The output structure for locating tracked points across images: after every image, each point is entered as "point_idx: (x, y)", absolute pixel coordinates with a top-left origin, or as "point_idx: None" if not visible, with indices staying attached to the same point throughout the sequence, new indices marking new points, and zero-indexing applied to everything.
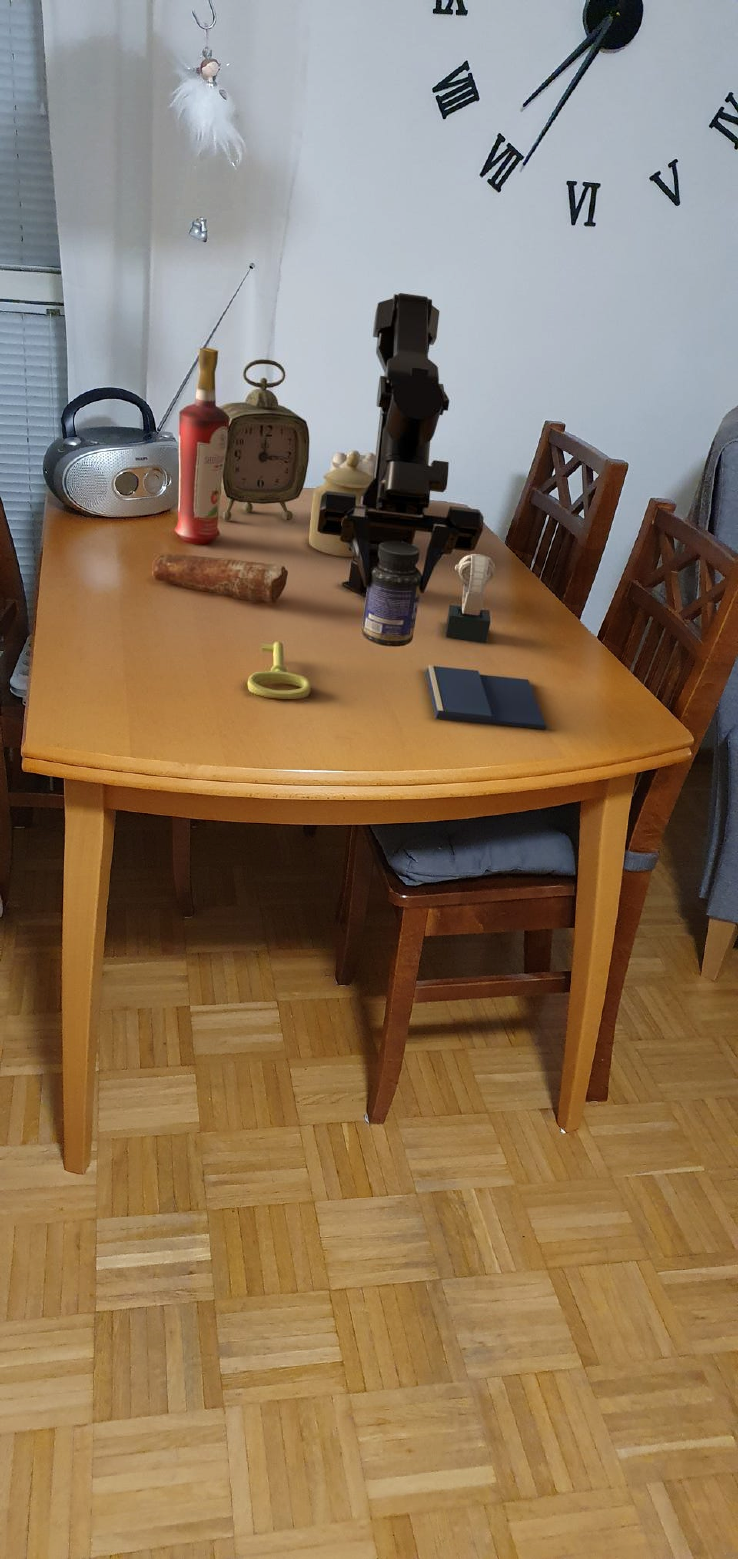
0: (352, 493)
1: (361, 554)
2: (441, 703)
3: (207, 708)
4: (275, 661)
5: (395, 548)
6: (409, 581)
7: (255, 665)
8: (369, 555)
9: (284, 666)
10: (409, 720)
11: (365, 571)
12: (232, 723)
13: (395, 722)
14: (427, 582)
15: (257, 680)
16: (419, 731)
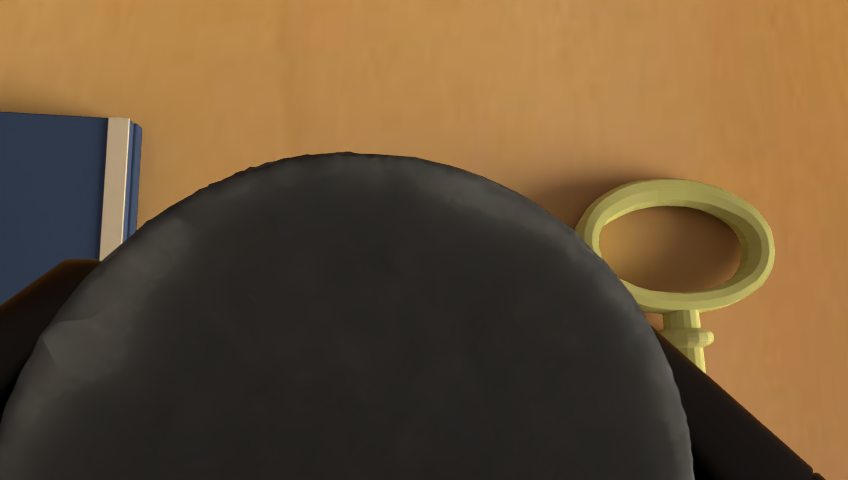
0: None
1: (802, 464)
2: (105, 177)
3: (843, 92)
4: None
5: (446, 445)
6: (232, 176)
7: None
8: (712, 465)
9: (678, 341)
10: (243, 104)
11: None
12: (773, 9)
13: (295, 82)
14: (16, 299)
15: (738, 273)
16: (217, 27)
